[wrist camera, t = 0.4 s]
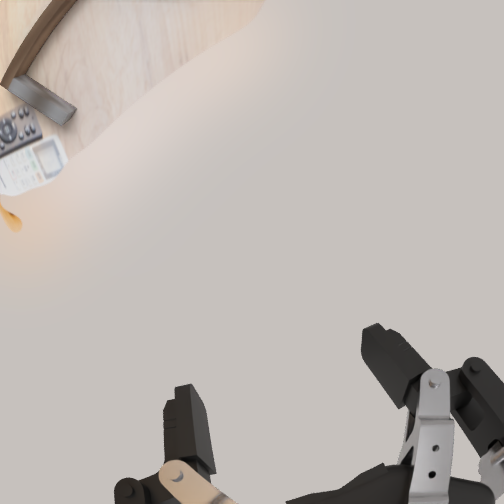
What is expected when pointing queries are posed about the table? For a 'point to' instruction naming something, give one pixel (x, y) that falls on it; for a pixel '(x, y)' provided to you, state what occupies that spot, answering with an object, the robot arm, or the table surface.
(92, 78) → the table surface
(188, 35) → the table surface
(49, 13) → the guide fence
